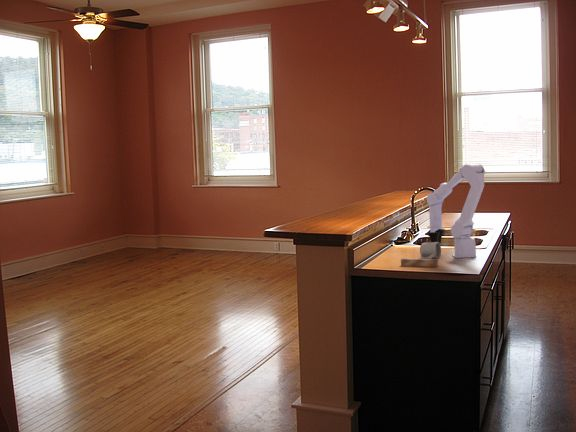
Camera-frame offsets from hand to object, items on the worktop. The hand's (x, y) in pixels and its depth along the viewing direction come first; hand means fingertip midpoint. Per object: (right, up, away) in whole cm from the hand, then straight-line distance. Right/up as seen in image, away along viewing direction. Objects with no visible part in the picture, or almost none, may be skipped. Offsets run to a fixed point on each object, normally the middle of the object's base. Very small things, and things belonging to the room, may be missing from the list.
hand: (436, 245), depth 317 cm
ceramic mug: (-5, -6, -11) cm, 14 cm away
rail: (-14, -8, -30) cm, 34 cm away
